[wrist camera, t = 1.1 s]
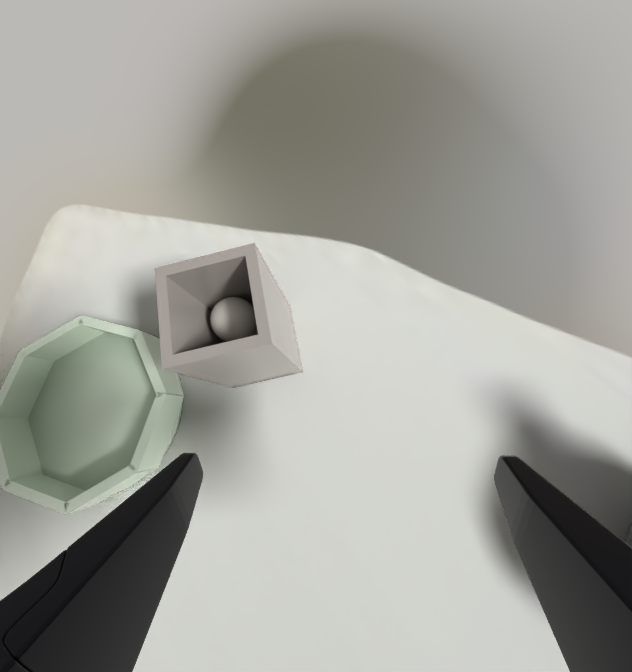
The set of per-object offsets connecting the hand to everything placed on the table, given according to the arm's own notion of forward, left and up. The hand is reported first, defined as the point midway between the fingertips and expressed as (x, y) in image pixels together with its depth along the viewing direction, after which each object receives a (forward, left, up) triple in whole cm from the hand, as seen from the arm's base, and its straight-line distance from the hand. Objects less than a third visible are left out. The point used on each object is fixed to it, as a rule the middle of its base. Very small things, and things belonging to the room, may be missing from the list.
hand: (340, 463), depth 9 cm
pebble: (+5, +9, -9) cm, 14 cm away
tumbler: (+5, +8, -14) cm, 17 cm away
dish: (-3, +19, -14) cm, 24 cm away
